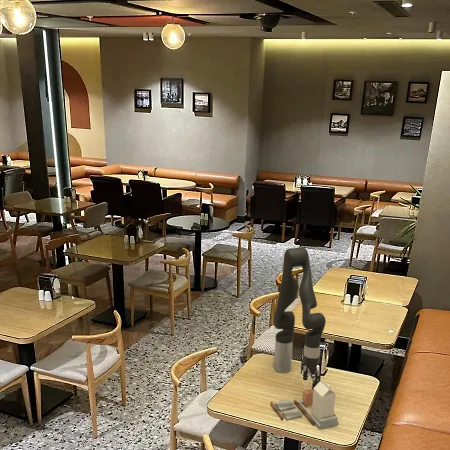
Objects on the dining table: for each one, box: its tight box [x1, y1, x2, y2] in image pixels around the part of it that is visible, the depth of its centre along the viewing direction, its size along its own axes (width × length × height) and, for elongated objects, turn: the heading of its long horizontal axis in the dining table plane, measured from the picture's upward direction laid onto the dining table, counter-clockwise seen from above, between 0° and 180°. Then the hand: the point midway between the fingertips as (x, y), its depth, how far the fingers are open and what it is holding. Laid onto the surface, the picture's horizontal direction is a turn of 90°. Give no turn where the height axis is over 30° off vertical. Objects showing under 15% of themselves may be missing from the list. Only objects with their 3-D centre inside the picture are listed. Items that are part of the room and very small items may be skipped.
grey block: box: [297, 388, 340, 430], centre depth 223 cm, size 20×10×7 cm, turn 20°
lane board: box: [269, 399, 337, 427], centre depth 225 cm, size 20×24×2 cm
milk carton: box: [311, 378, 337, 423], centre depth 218 cm, size 7×7×19 cm
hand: (309, 384), depth 229 cm, fingers open, 8 cm apart
